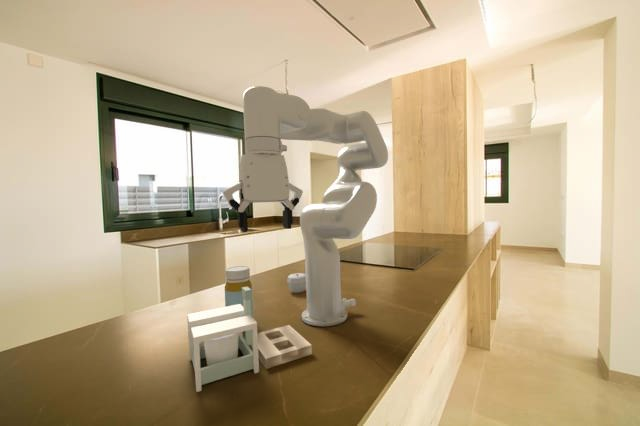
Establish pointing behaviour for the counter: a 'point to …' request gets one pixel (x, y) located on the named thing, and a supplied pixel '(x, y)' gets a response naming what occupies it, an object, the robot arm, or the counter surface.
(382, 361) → the counter surface
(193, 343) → the tunnel
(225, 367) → the slider
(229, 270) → the bottle
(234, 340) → the white cup
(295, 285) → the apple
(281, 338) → the board
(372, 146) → the robot arm
